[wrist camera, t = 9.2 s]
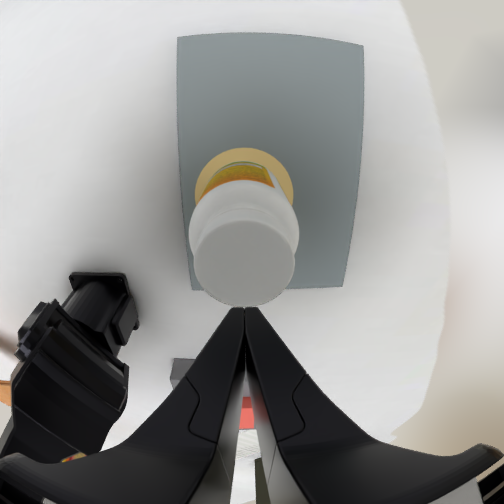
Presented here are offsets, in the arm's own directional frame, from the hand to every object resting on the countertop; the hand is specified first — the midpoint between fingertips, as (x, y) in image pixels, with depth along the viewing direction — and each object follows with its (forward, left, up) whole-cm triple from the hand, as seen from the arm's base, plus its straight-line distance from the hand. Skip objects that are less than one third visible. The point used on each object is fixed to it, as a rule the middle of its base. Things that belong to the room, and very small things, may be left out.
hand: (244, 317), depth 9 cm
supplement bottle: (0, +1, -12) cm, 12 cm away
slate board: (+2, +3, -13) cm, 13 cm away
